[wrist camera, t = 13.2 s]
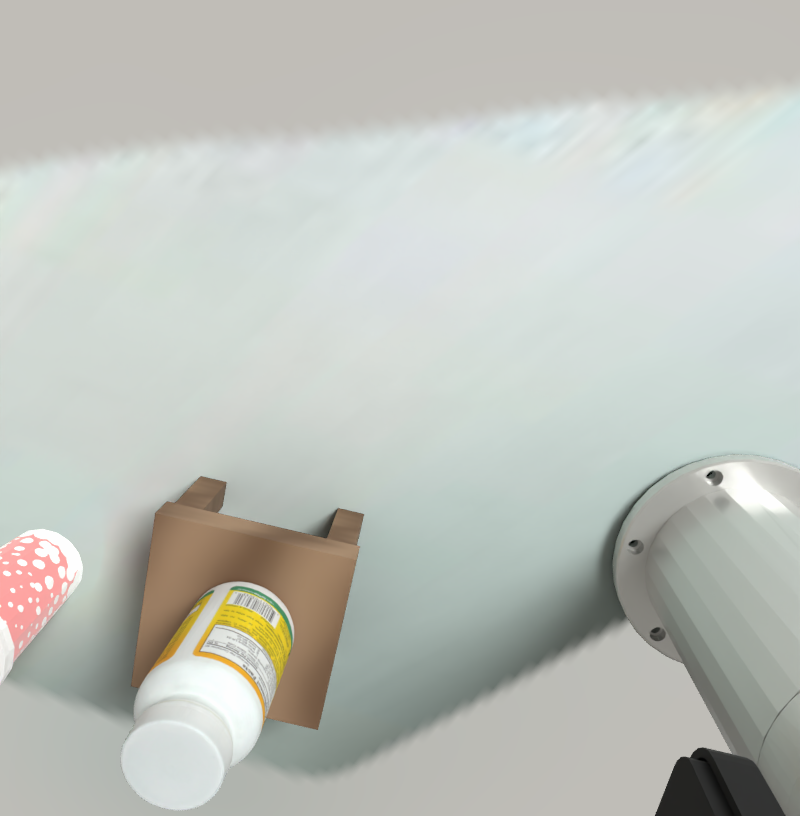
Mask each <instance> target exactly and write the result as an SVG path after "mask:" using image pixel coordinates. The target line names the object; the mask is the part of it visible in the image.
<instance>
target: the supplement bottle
mask: <svg viewBox="0 0 800 816" xmlns="http://www.w3.org/2000/svg"><path fill="white" fill-rule="evenodd" d="M293 642H294V625H293V621H292V618H291V616H290V613H289V611H288V609H287V608H286V606H285V605H284V603H283V602H282V601H281V600H280V599H279V598H278V597H277V596H276V595H274V594H273V593H272V592H271V591H269V590H267V589H266V588H264V587H261V586H259V585H256V584H253V583H248V582H228V583H224V584H221V585H218V586H216V587H213V588H211V589H210V590H208V591H207V592H206V593H205V594H204V595H203V596H202V597H201V598H200V599H199V600H198V601H197V603H196V604H195V605H194V607H193V608H192V610H191V611H190V613H189V614H188V616H187V617H186V619H185V620H184V621H183V623H182V624H181V626H180V627H179V629H178V630H177V632H176V633H175V635H174V636H173V638H172V639H171V641H170V642H169V644H168V645H167V647H166V648H165V649H164V651H163V652H162V654H161V656H160V657H159V658H158V660H157V661H156V663H155V664H154V666H153V667H152V669H151V670H150V672H149V673H148V674H147V676H146V678H145V679H144V681H143V682H142V684H141V686H140V688H139V690H138V692H137V695H136V699H135V703H134V722H135V723H134V725H133V728H132V730H131V731H130V733H129V735H128V736H127V738H126V740H125V742H124V745H123V746H122V749H121V758H120V762H121V768H122V772H123V775H124V777H125V779H126V781H127V783H128V784H129V786H130V787H131V788H132V789H133V790H134V791H135V793H137V794H138V795H139V796H140V797H141V798H142V799H144V800H146V801H147V802H149V803H151V804H153V805H155V806H158V807H160V808H164V809H170V810H188V809H193V808H196V807H199V806H201V805H203V804H205V803H206V802H208V801H209V800H210V799H211V798H213V797H214V795H215V794H216V793H217V792H218V790H219V789H220V787H221V785H222V783H223V781H224V778H225V776H226V774H227V771H228V770H229V768H231V767H233V766H234V765H236V764H238V763H239V762H240V761H242V760H243V759H244V758H245V757H246V756H247V755H248V754H249V752H250V751H251V750H252V749H253V747H254V745H255V744H256V742H257V740H258V738H259V735H260V733H261V730H262V727H263V725H264V722H265V719H266V717H267V714H268V711H269V708H270V706H271V703H272V700H273V698H274V695H275V692H276V690H277V687H278V684H279V682H280V679H281V676H282V674H283V671H284V668H285V665H286V663H287V660H288V657H289V655H290V652H291V649H292V646H293Z"/></svg>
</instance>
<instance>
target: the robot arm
mask: <svg viewBox="0 0 800 816" xmlns="http://www.w3.org/2000/svg"><path fill="white" fill-rule="evenodd" d="M712 470H713V473H712V474H711V475H710V476H707V474H708V473H709V472H710V471H712ZM632 540H636V541H635V542H634V543H632V544H629V542H631V541H632ZM613 581H614V585H615V588H616V592H617V596H618V599H619V602H620V604H621V606H622V608H623V610H624V613H625V615H626V617H627V618H628V620H629V621H630V623H631V624H632V626H633V627H634V629H635V630H636V632H637V633H638V634H639V635H640V636H641V637H642V638H643V639H644V640H645V641H646V642H647V643H648V644H649V645H650V646H652V647H653V648H655V649H657V650H658V651H659V652H661V653H662V654H664V655H665V656H667V657H669V658H671V659H674V660H676V661H678V662H681V663H683V664H684V665H685V667H686V669H687V671H688V673H689V674H690V676H691V678H692V680H693V682H694V683H695V685H696V687H697V689H698V691H699V693H700V695H701V697H702V698H703V701H704V702H705V704H706V706H707V708H708V710H709V712H710V714H711V715H712V717H713V719H714V721H715V723H716V725H717V727H718V729H719V730H720V732H721V734H722V736H723V738H724V740H725V742H726V743H727V745H728V747H729V749H730V751H731V753H732V754H729V753H724V752H720V751H715V750H711V749H707V748H698V749H697V750H696V751H694V752H693V754H692V755H691V757H690V758H688V757H681V758H680V759H679V760H677V762H676V764H675V766H674V769H673V771H672V774H671V776H670V779H669V781H668V784H667V786H666V789H665V792H664V794H663V797H662V799H661V802H660V805H659V807H658V809H657V812H656V814H655V816H800V469H798V468H795V467H793V466H791V465H789V464H786V463H784V462H782V461H780V460H775V459H771V458H767V457H762V456H758V455H739V454H733V455H725V456H717V457H710V458H707V459H704V460H701V461H697V462H694V463H691V464H688V465H686V466H684V467H682V468H680V469H678V470H676V471H674V472H672V473H670V474H668V475H667V476H666V477H664V478H663V479H662V480H660V481H659V482H658V483H656V484H655V485H653V486H652V487H651V488H650V489H649V490H648V491H647V492H646V493H645V494H644V495H643V496H642V497H641V498H640V499H639V500H638V501H637V503H636V504H635V505H634V506H633V508H632V509H631V511H630V513H629V514H628V516H627V517H626V519H625V521H624V522H623V524H622V527H621V530H620V532H619V535H618V537H617V540H616V544H615V550H614V556H613Z"/></svg>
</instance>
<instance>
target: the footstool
mask: <svg viewBox="0 0 800 816" xmlns="http://www.w3.org/2000/svg"><path fill="white" fill-rule="evenodd" d="M226 483H227V482H223V481H219V480H215V479H210V478H206V477H202V476H201V477H200V478H199V479H198V480H197V481H196V482H195V483H194V484H193V485H192V486H191V487H190V488H189V489H188V490H187V491H186V492H185V493H184V494H183V495H182V496H181V497H180V498H179V499H178V501H177V502H176V503H172V502H166V503H165V504H164V505H163V506H162V507H161V508H160V509H159V510H158V511H157V512H156V513H155V519H154V527H153V534H152V541H151V548H150V555H149V562H148V569H147V576H146V583H145V590H144V598H143V605H142V612H141V619H140V626H139V633H138V640H137V647H136V654H135V661H134V669H133V676H132V683H131V686H132V687H137V688H140V686H141V684H142V682H143V681H144V679H145V678H146V676H147V674H148V673H149V672H150V670H151V669H152V667H153V666H154V664H155V663H156V661H157V660H158V658H159V657H160V656H161V654H162V652H163V651H164V649H165V648H166V647H167V645H168V644H169V642H170V641H171V639H172V638H173V636H174V635H175V633H176V632H177V630H178V629H179V627H180V626H181V624H182V623H183V621H184V620H185V619H186V617H187V616H188V614H189V613H190V611H191V610H192V608H193V607H194V605H195V604H196V603H197V601H198V600H199V599H200V598H201V597H202V596H203V595H204V594H205V593H206V592H207V591H208V590H210V589H211V588H213V587H216V586H218V585H221V584H224V583H228V582H248V583H253V584H256V585H259V586H261V587H264V588H266V589H267V590H269V591H271V592H272V593H273V594H274V595H276V596H277V597H278V598H279V599H280V600H281V601H282V602H283V603H284V605H285V606H286V608H287V609H288V611H289V613H290V616H291V618H292V621H293V625H294V642H293V646H292V649H291V652H290V655H289V657H288V660H287V663H286V665H285V668H284V671H283V674H282V676H281V679H280V682H279V684H278V687H277V690H276V692H275V695H274V698H273V700H272V703H271V706H270V708H269V711H268V714H267V717H266V718H269V719H273V720H278V721H282V722H286V723H291V724H295V725H299V726H303V727H308V728H312V729H316V730H318V727H319V723H320V719H321V715H322V711H323V707H324V702H325V698H326V693H327V689H328V685H329V680H330V676H331V671H332V667H333V663H334V658H335V654H336V649H337V645H338V641H339V636H340V632H341V627H342V623H343V619H344V614H345V610H346V605H347V601H348V596H349V592H350V588H351V583H352V579H353V574H354V570H355V566H356V561H357V557H358V552H359V548H360V546H357V542H358V539H359V534H360V530H361V525H362V521H363V517H364V514H361V513H357V512H352V511H348V510H344V509H339V508H338V510H337V513H336V515H335V518H334V521H333V523H332V526H331V529H330V531H329V534H328V537H327V539H326V538H322V537H318V536H314V535H309V534H305V533H301V532H296V531H292V530H288V529H283V528H279V527H275V526H271V525H266V524H262V523H258V522H253V521H249V520H245V519H240V518H236V517H232V516H228V515H223V514H219V513H218V511H219V510H220V509H221V508H222V506H223V501H224V495H225V489H226Z"/></svg>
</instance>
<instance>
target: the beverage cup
mask: <svg viewBox="0 0 800 816" xmlns="http://www.w3.org/2000/svg"><path fill="white" fill-rule="evenodd" d="M82 571H83V565H82V562H81V558H80V555H79V553H78V551H77V550H76V549H75V547H74V546H73V545H72V543H71V542H70V541H69V540H67V539H66V538H64V537H63V536H61V535H60V534H58V533H56V532H52V531H48V530H44V529H38V530H30V531H27V532H25V533H23V534H22V535H20V536H18V537H17V538H15V539H13V540H12V541H10V542H9V543H7V544H5V545H4V546H2V547H0V685H1V684H2V683H3V681H4V680H5V678H6V677H7V675H8V674H9V672H10V671H11V669H12V667H13V662H14V661H15V660H16V659H17V658H18V656H19V655H20V654H21V653H22V652H23V651H24V649H25V648H26V647H27V646H28V645H29V643H30V642H31V641H32V640H33V639H34V638H35V636H36V635H37V634H38V633H39V632H40V631H41V629H42V628H43V627H44V626H45V625H46V623H47V622H48V621H49V620H50V619H51V618H52V616H53V615H54V614H55V613H56V612H57V610H58V609H59V608H60V607H61V606H62V605H63V603H64V602H65V601H66V600H67V599H68V597H69V596H70V595H71V594H72V593H73V592H74V590H75V589H76V587H77V586H78V584H79V583H80V581H81V578H82Z"/></svg>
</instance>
